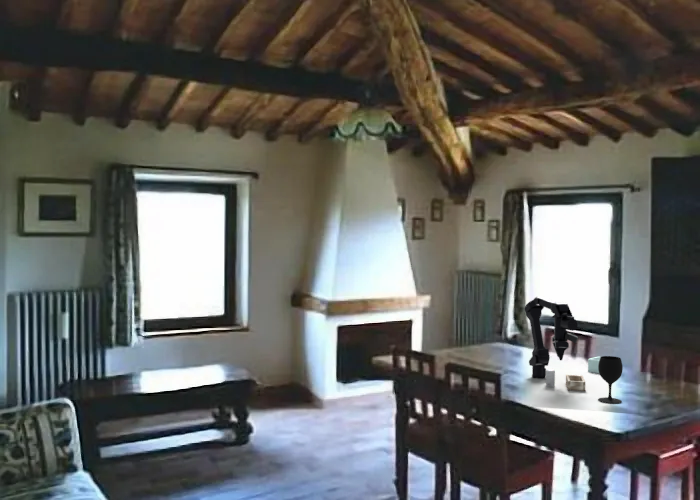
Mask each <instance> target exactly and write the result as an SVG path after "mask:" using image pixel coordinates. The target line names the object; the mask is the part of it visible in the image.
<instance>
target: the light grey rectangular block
mask: <svg viewBox="0 0 700 500" xmlns="http://www.w3.org/2000/svg"><path fill="white" fill-rule="evenodd" d="M555 376H556V371H555V369H553V368H552V369H549V368H546V377H545V387H547V388H548V387H549V388H555V384H556V383H555V382H556V377H555Z"/></svg>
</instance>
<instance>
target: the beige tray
mask: <svg viewBox="0 0 700 500" xmlns="http://www.w3.org/2000/svg"><path fill="white" fill-rule="evenodd" d="M565 385H566V388H567V390H568V391H576V392H577V391H578V392H586V380H585V378H584V376H583V375H579V374H578V375H577V374H573V375H572V374H565Z"/></svg>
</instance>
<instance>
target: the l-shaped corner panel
mask: <svg viewBox="0 0 700 500" xmlns="http://www.w3.org/2000/svg"><path fill="white" fill-rule="evenodd" d="M600 357H602V356H595V357H591V358H588V360H587V372H591V373H597V374H599V370H598V365H599V360H600Z"/></svg>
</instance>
